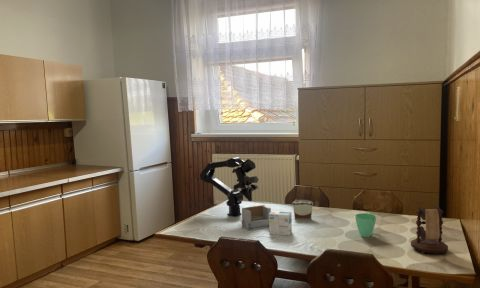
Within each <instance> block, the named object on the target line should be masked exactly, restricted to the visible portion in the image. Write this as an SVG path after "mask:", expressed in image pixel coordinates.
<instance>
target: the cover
mask: <svg viewBox="0 0 480 288" xmlns="http://www.w3.org/2000/svg"><path fill="white" fill-rule="evenodd" d="M263 206H266V205H265V204H261V205H254V206H253V205H252V206H248V207H242V208H241V213H242V214H241V221H242V220H243V209H247V210H249V211H251V219H252V218H257V217H263Z"/></svg>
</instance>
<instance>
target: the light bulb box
mask: <svg viewBox="0 0 480 288" xmlns="http://www.w3.org/2000/svg"><path fill="white" fill-rule="evenodd" d="M292 219H293V218H292V211H282V210H280V211H279V210H271V212H270V213H269V226H268V230H269V235H279V236H280V235H281V236H290V235H291V233H292V232H293V228H292V226H293V225H292V223H293V222H292V221H293V220H292Z"/></svg>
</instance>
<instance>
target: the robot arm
mask: <svg viewBox="0 0 480 288" xmlns="http://www.w3.org/2000/svg"><path fill="white" fill-rule="evenodd" d="M218 168H230V169H233V170H232V171H231V173H232V174H235V175H236V178H237V179H236V182H238V183H236V184H234V185H233V187H232V188H230V187H229V186H228V185H226V184H225V183H223V182H222V181H220V180H219V179H218V178H217V177H216V175H215V171H216V169H218ZM254 169H256V163H255V162H254V161H253V160H251V158H247V159H246V160H245V161H244V160H242V159H241V158H240V157H238V156H237V157H231V158H229V159H226V160H221V161H212V162H208V163H207V165H206V166H205V167H204V169H202V171H201V172H200V174H199V177H200V178H199V179H200V180H201V181H202V182H204V183H207V184H210V185H212V186H213V187H215V188H216V189H217V190H218V191H220V192H221V193H223V194H224V195H225V196H227V200H226V202H225V204H226V206H227V207H228V213H227V215H226V216H232V217H238V216H242V212H241V206H240V205H241V204H242V203H243V201H244V198H246V200H247V201H248V202H252V201H253V192H254V191H256V190H258V189H259V187H258V185H257V183H258V181H259V180H260V179H259V178H258V176H256V175H255V176H248V175H247V174H249V173H250V172H252V171H253V170H254ZM239 189H240V190H239Z"/></svg>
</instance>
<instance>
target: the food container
mask: <svg viewBox="0 0 480 288" xmlns="http://www.w3.org/2000/svg"><path fill="white" fill-rule="evenodd" d="M291 206H292V207H293V214H294V220H312V217H313V216H312V213H313V207H314V206H315V205H314V202H313V201H311V200H308V199H297V200H294V201H292V205H291Z"/></svg>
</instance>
